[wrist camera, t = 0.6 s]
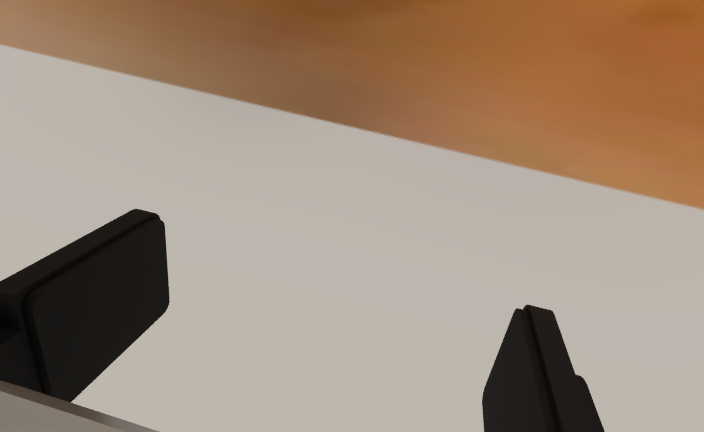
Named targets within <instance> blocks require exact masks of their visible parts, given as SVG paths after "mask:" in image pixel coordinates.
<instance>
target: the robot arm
mask: <svg viewBox="0 0 704 432" xmlns="http://www.w3.org/2000/svg"><path fill="white" fill-rule="evenodd" d="M168 305H169V286H168V270H167V254H166V240H165V226H164V223H163V221H161V220H160V217H159V215H157V214H156V213H151V212H148V211H143V210H139V209H134V210H131V211H129V212H128V213H126V214H124V215H122V216H120V217H118V218H117V219H115V220H113V221H111V222H109V223H107V224H105V225H104V226H102V227H100V228H98V229H96V230H94V231H93V232H91V233H89V234H87V235H85V236H83V237H82V238H80V239H78V240H76V241H74V242H72V243H70V244H69V245H67V246H65V247H63V248H61V249H59V250H58V251H56V252H54V253H52V254H50V255H48V256H46V257H45V258H43V259H41V260H39V261H37V262H35V263H34V264H32V265H30V266H28V267H26V268H25V269H22V270H21V271H19V272H17V273H15V274H13V275H11V276H10V277H8V278H6V279H4V280H2V281H0V432H158V431H155V430H152V429H149V428H146V427H143V426H140V425H137V424H134V423H131V422H128V421H125V420H122V419H119V418H116V417H113V416H110V415H107V414H104V413H100V412H97V411H94V410H91V409H88V408H85V407H82V406H79V405H76V404H73V403H71V402H72V400H74V399H75V398H76V397H77V395H79V394H80V393H81V392H82V391H83V390H84V389H85V388H86V387H87V386H88V385H89V384H90V383H92V382H93V380H95V379H96V378H97V377H98V376H99V375H100V374H101V373H102V372H103V371H104V370H105V369H106V368H107V367H108V366H109V365H110V364H111V363H112V362H113V361H114V360H116V359H117V358H118V357H119V356H120V355H121V354H122V353H123V352H124V351H125V350H126V349H127V348H128V347H129V346H130V345H131V344H132V343H133V342H134V341H135V340H137V339H138V338H139V337H140V336H141V335H142V334H143V333H144V332H145V331H146V330H147V329H148V328H149V327H150V326H151V325H152V324H153V323H154V322H155V321H156V320H158V318H160V317H161V316H162V315H163V314H164V313H165V311H166V310H167V308H168ZM482 405H483V420H484V432H604V429H603V426H602V424H601V421H600V418H599V416H598V413H597V410H596V408H595V405H594V402H593V400H592V397H591V394H590V391H589V389H588V386H587V384H586V382H585V380H584V379H583V378H582V377H581V376H578V375H575V373H574V369H573V367H572V364H571V361H570V358H569V355H568V352H567V349H566V347H565V344H564V341H563V338H562V335H561V332H560V330H559V327H558V324H557V321H556V318H555V315H554V313H553V311H551V310H547V309H543V308H539V307H535V306H531V305H526V306H525V307H524V308H523V310H522V309H518V308H517V309H516V310H515V311H514V313H513V316H512V319H511V321H510V324H509V326H508V329H507V331H506V334H505V337H504V339H503V342H502V344H501V347H500V350H499V352H498V355H497V357H496V360H495V362H494V365H493V368H492V370H491V373H490V375H489V378H488V381H487V383H486V386H485V388H484V392H483V400H482Z"/></svg>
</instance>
